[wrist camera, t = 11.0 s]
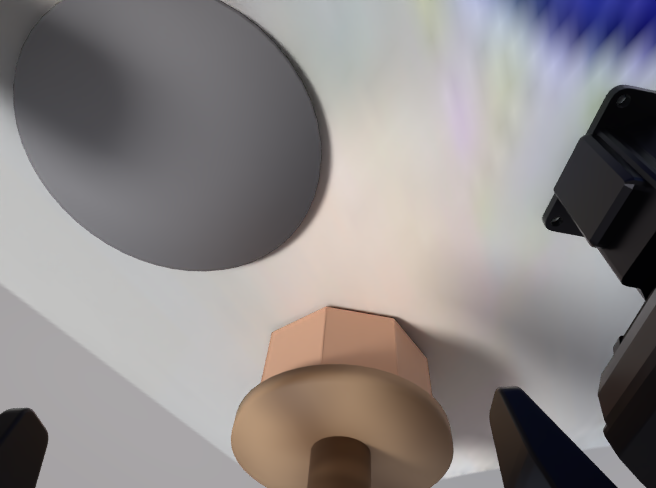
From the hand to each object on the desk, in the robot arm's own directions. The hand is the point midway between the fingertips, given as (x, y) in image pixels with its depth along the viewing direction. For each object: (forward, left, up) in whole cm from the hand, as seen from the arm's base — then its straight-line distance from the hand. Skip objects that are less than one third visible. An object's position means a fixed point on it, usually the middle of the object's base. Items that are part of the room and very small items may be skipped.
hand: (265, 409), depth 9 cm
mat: (+6, +2, -13) cm, 15 cm away
